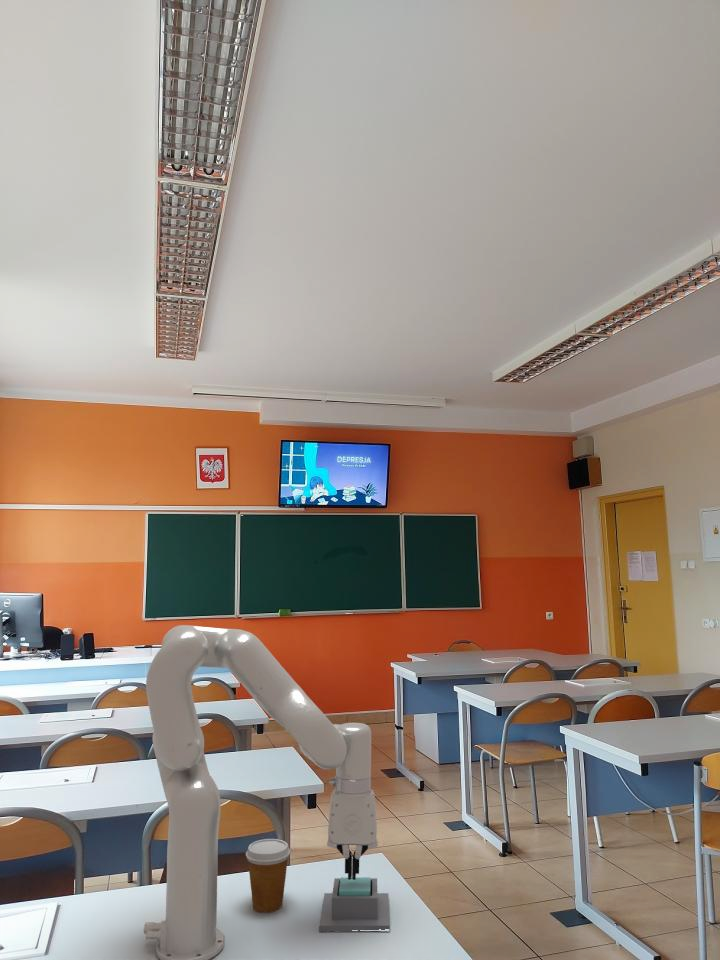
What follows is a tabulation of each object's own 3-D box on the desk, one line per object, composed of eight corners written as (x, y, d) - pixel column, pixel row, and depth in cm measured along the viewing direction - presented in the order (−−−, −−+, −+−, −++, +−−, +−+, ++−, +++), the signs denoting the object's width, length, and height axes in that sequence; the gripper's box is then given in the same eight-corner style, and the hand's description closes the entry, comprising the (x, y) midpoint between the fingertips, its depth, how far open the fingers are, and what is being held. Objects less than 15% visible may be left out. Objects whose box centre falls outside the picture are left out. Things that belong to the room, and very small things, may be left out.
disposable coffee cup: (295, 911, 143) (295, 850, 145) (250, 920, 140) (251, 857, 142) (283, 892, 152) (283, 835, 154) (241, 900, 149) (241, 841, 150)
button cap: (339, 912, 139) (339, 891, 139) (340, 897, 145) (340, 877, 146) (370, 912, 139) (370, 891, 139) (370, 897, 145) (370, 877, 146)
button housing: (319, 932, 135) (318, 903, 136) (324, 899, 149) (324, 873, 149) (389, 932, 134) (389, 903, 135) (388, 899, 148) (388, 873, 149)
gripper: (316, 788, 142) (314, 883, 139) (388, 790, 141) (387, 885, 138) (319, 778, 149) (317, 868, 146) (388, 780, 149) (387, 870, 146)
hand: (351, 876), depth 142 cm, fingers closed
